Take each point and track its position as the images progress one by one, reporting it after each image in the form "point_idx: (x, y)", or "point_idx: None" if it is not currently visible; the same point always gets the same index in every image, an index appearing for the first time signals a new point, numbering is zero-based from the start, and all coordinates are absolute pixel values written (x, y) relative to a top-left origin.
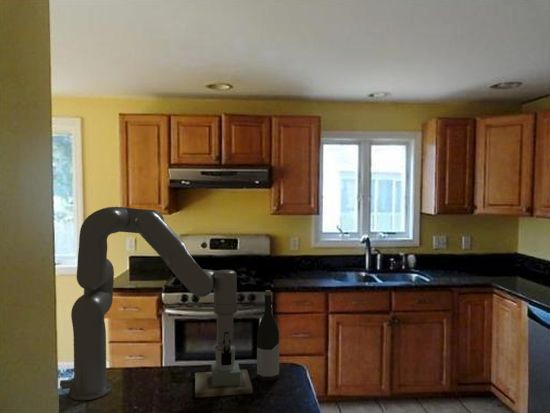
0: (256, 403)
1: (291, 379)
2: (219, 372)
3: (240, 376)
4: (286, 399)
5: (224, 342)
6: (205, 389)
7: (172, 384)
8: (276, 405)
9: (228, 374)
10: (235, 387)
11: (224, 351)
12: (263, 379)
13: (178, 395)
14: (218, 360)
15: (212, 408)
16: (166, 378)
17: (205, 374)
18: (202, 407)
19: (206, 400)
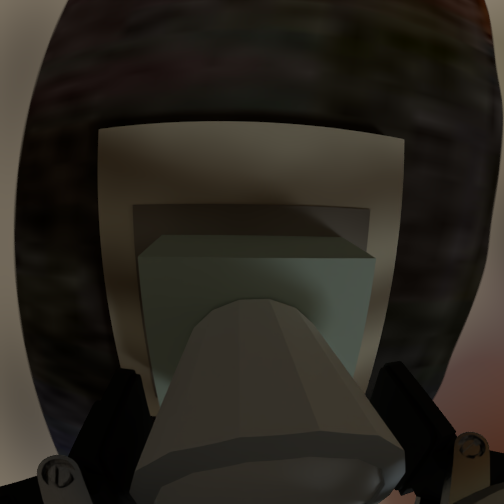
0: (61, 388)
1: None
2: (167, 314)
3: None
4: None
5: (426, 481)
6: (132, 189)
7: (314, 17)
8: (61, 428)
9: (153, 364)
10: (143, 355)
11: (22, 482)
12: None
13: (161, 45)
14: (193, 361)
15: (14, 225)
16: (390, 10)
17: (369, 199)
18: (22, 180)
19: (74, 195)
